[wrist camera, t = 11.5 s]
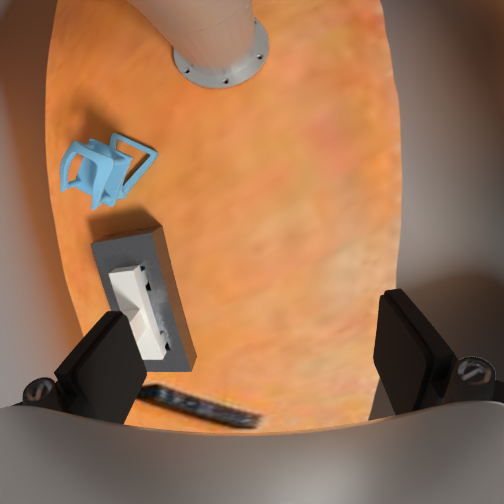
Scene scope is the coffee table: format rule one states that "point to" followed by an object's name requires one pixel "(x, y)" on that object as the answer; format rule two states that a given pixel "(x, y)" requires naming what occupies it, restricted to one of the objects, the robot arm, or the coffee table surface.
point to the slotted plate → (150, 290)
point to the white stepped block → (138, 310)
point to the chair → (103, 169)
